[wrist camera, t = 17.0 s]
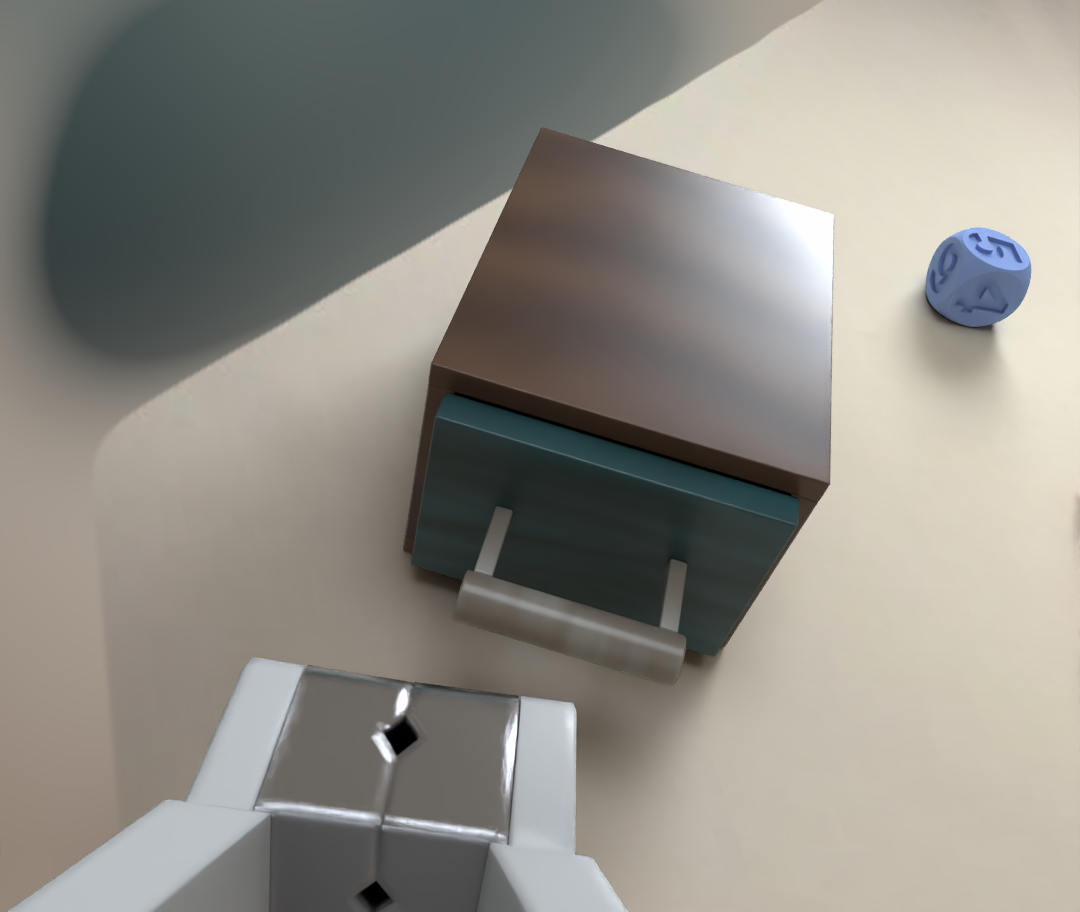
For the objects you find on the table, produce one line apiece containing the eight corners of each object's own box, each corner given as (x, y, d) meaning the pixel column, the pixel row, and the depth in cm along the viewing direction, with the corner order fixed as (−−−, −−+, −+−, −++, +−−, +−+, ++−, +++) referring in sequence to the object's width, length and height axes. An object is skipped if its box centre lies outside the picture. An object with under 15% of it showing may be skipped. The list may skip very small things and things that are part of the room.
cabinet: (724, 648, 37) (830, 484, 30) (402, 550, 37) (430, 363, 30) (752, 381, 48) (834, 214, 40) (503, 306, 48) (541, 126, 41)
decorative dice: (1000, 333, 55) (1040, 277, 52) (934, 321, 54) (971, 263, 51) (981, 290, 57) (1019, 234, 54) (918, 277, 57) (952, 220, 54)
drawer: (702, 768, 32) (793, 646, 26) (369, 667, 32) (388, 523, 27) (743, 396, 45) (810, 260, 40) (506, 325, 45) (538, 178, 40)
